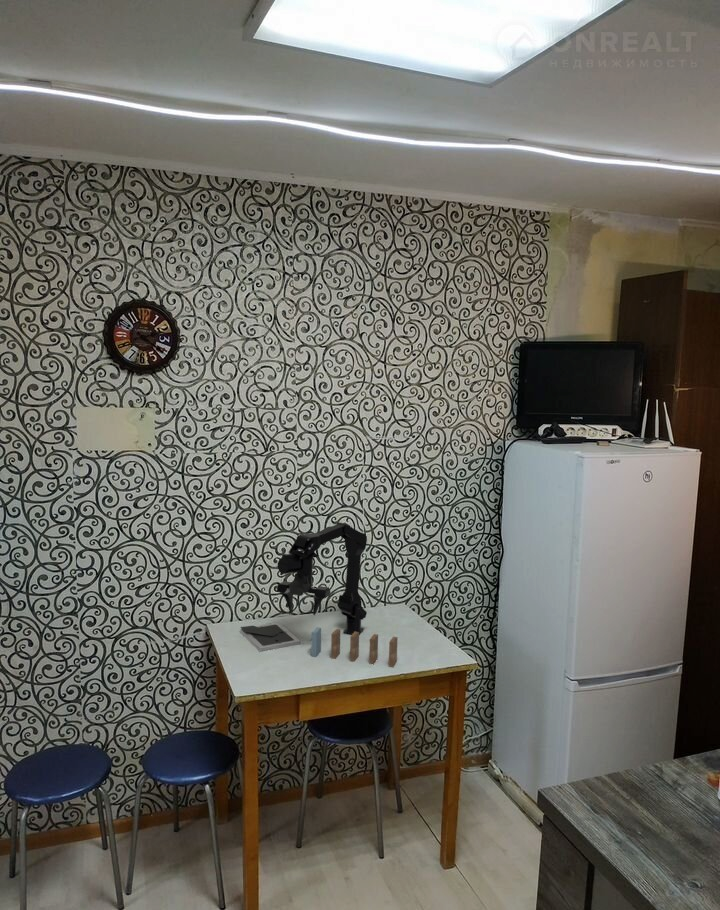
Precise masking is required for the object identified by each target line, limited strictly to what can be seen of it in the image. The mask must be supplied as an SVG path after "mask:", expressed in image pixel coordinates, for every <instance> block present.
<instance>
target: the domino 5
mask: <svg viewBox="0 0 720 910" xmlns="http://www.w3.org/2000/svg"><path fill="white" fill-rule="evenodd" d="M398 639H399V638H398V636H392V638H391V639H390V641H389V643H388V645H389V648H388V649H389V651H388V668H394V667H395V666H396V664H397V662H398Z"/></svg>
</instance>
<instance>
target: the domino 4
mask: <svg viewBox="0 0 720 910" xmlns="http://www.w3.org/2000/svg"><path fill="white" fill-rule="evenodd" d="M378 652H379V634H376V633H373V635H372V636H371V637H370V638H369V653H368V654H369V655H368V657H369V665H372V664H373V666H374V665H375V664H374V663H376V662H377V661H378V657H379V656H378V655H379V653H378ZM376 660H377V661H376Z"/></svg>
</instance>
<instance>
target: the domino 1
mask: <svg viewBox="0 0 720 910" xmlns="http://www.w3.org/2000/svg"><path fill="white" fill-rule="evenodd" d="M321 652H322V627H320V626H319V627H316V628H315V629H314V630H313V631H312V632H311V657H313V658H317V657H318V656H319V655H320V653H321Z"/></svg>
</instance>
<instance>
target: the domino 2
mask: <svg viewBox="0 0 720 910" xmlns="http://www.w3.org/2000/svg"><path fill="white" fill-rule="evenodd" d="M330 641H331V645H330V649H331V650H330V658H331V660H332V659H334V660H336V659H337V658H338V656H340V654H341V629H339V628H335V630H334V631H333V632H332V633H331V640H330Z"/></svg>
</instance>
